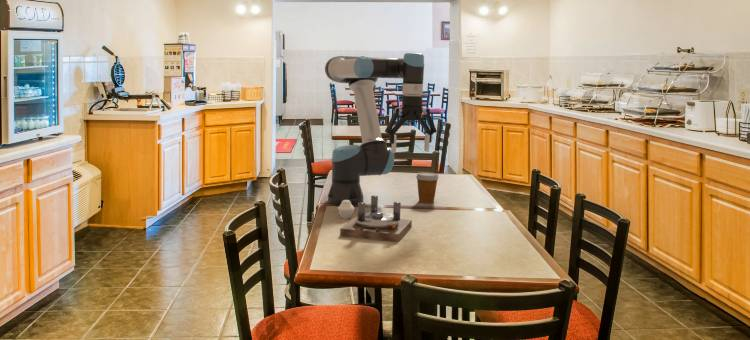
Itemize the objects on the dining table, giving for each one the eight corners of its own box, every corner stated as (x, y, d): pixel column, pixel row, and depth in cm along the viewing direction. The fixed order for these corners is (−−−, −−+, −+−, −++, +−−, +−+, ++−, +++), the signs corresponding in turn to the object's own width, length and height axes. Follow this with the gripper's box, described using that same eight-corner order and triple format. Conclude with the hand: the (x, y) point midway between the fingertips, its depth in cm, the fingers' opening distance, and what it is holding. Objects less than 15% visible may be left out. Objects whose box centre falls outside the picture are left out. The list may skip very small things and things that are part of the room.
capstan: (349, 226, 201) (350, 203, 200) (362, 216, 215) (363, 194, 214) (394, 231, 197) (395, 207, 196) (405, 220, 211) (406, 198, 210)
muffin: (346, 220, 220) (346, 202, 219) (334, 217, 224) (334, 199, 223) (357, 217, 225) (357, 199, 223) (345, 214, 229) (346, 196, 227)
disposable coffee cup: (436, 204, 250) (437, 176, 248) (413, 203, 252) (414, 175, 249) (438, 199, 259) (439, 172, 257) (416, 198, 261) (417, 171, 259)
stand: (340, 235, 200) (340, 226, 199) (358, 221, 219) (358, 212, 218) (398, 241, 195) (398, 232, 194) (411, 226, 214) (411, 217, 213)
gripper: (384, 95, 215) (383, 154, 218) (447, 96, 223) (444, 152, 227) (377, 94, 222) (375, 151, 225) (438, 95, 230) (435, 149, 234)
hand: (410, 151), depth 226 cm, fingers open, 13 cm apart
